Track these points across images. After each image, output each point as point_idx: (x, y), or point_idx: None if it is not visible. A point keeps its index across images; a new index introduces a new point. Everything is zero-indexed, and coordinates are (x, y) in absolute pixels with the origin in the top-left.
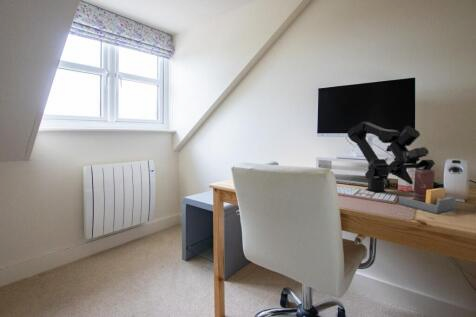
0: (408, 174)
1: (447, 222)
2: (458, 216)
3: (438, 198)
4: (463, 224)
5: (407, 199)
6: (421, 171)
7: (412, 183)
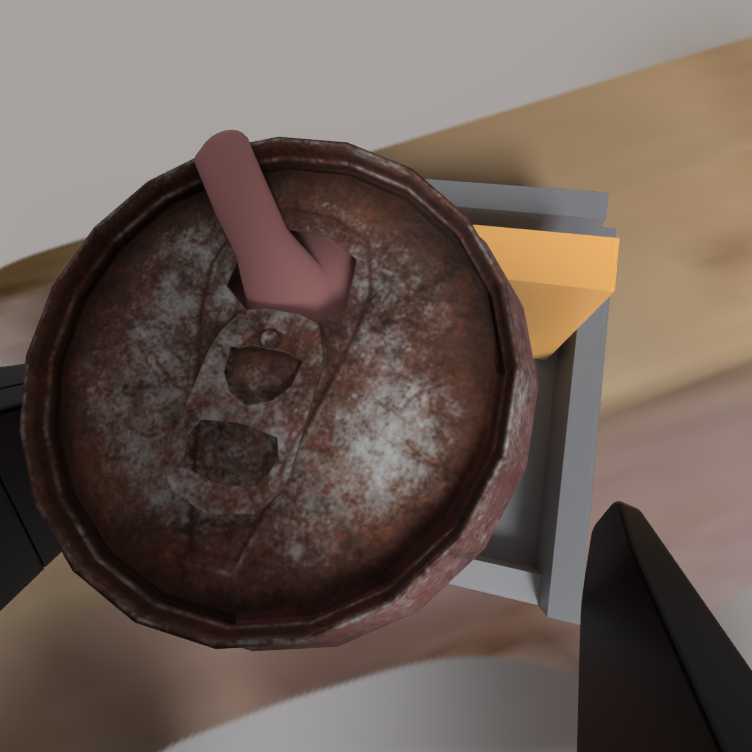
0: (706, 699)
1: (729, 156)
2: (495, 174)
3: None
4: (671, 95)
5: (587, 516)
6: (524, 365)
7: (622, 507)
